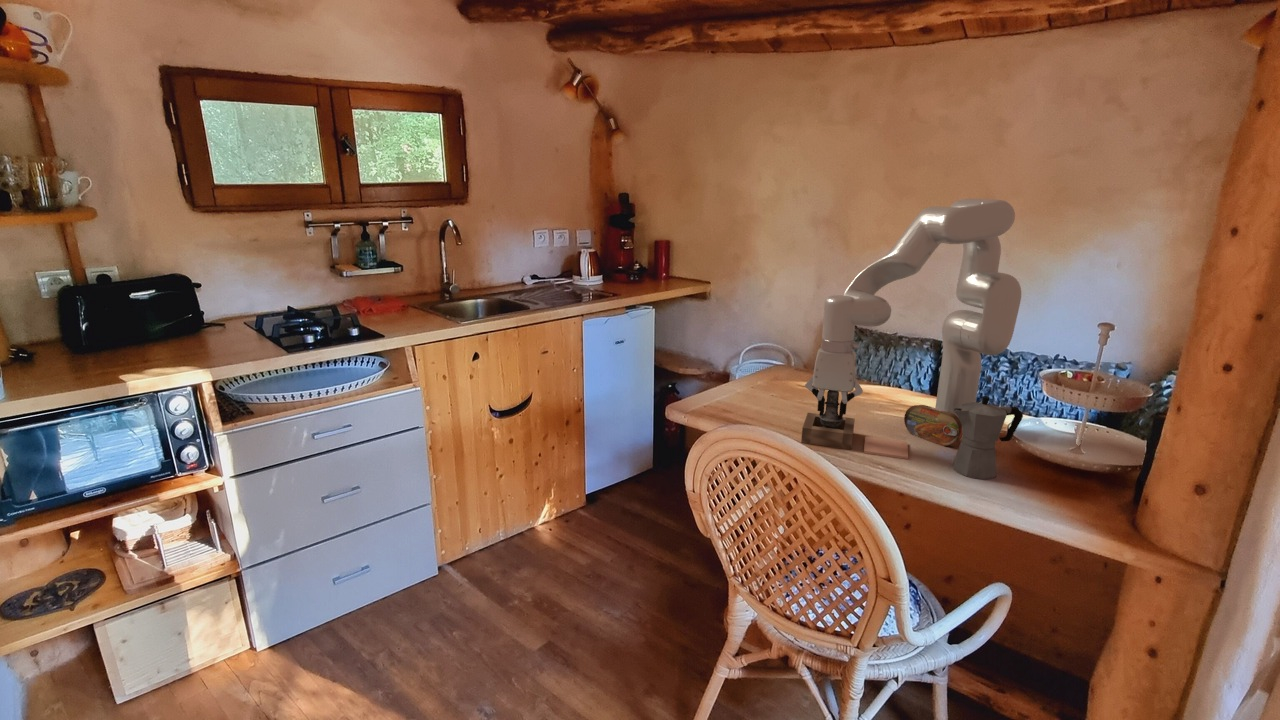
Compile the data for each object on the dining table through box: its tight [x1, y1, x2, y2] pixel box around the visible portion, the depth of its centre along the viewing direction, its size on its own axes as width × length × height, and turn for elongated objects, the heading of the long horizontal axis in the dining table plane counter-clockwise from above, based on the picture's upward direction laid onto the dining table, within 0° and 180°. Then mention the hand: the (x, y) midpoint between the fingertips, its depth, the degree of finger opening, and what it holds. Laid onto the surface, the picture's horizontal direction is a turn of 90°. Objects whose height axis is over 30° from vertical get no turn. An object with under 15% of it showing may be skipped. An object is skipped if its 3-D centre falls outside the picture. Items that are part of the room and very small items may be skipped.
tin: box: [903, 404, 963, 446], centre depth 165 cm, size 15×3×8 cm, turn 33°
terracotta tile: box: [863, 436, 909, 460], centre depth 159 cm, size 10×10×1 cm
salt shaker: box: [819, 390, 844, 430], centre depth 164 cm, size 6×6×12 cm
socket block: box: [800, 412, 856, 451], centre depth 165 cm, size 12×12×4 cm
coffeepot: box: [952, 395, 1024, 480], centre depth 145 cm, size 15×9×18 cm, turn 90°
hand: (831, 414), depth 164 cm, fingers closed on salt shaker, 4 cm apart
